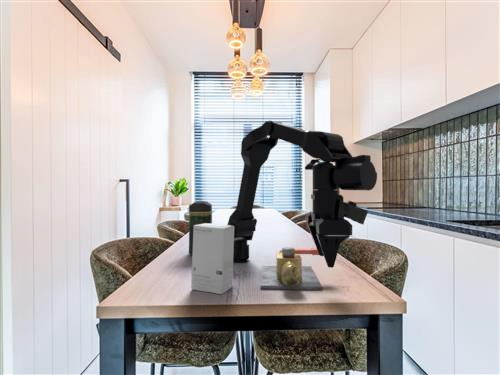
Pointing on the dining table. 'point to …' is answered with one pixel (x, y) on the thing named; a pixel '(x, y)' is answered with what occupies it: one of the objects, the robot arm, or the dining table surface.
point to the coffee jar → (198, 218)
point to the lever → (298, 251)
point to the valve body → (289, 274)
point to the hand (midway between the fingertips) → (326, 261)
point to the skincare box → (212, 257)
